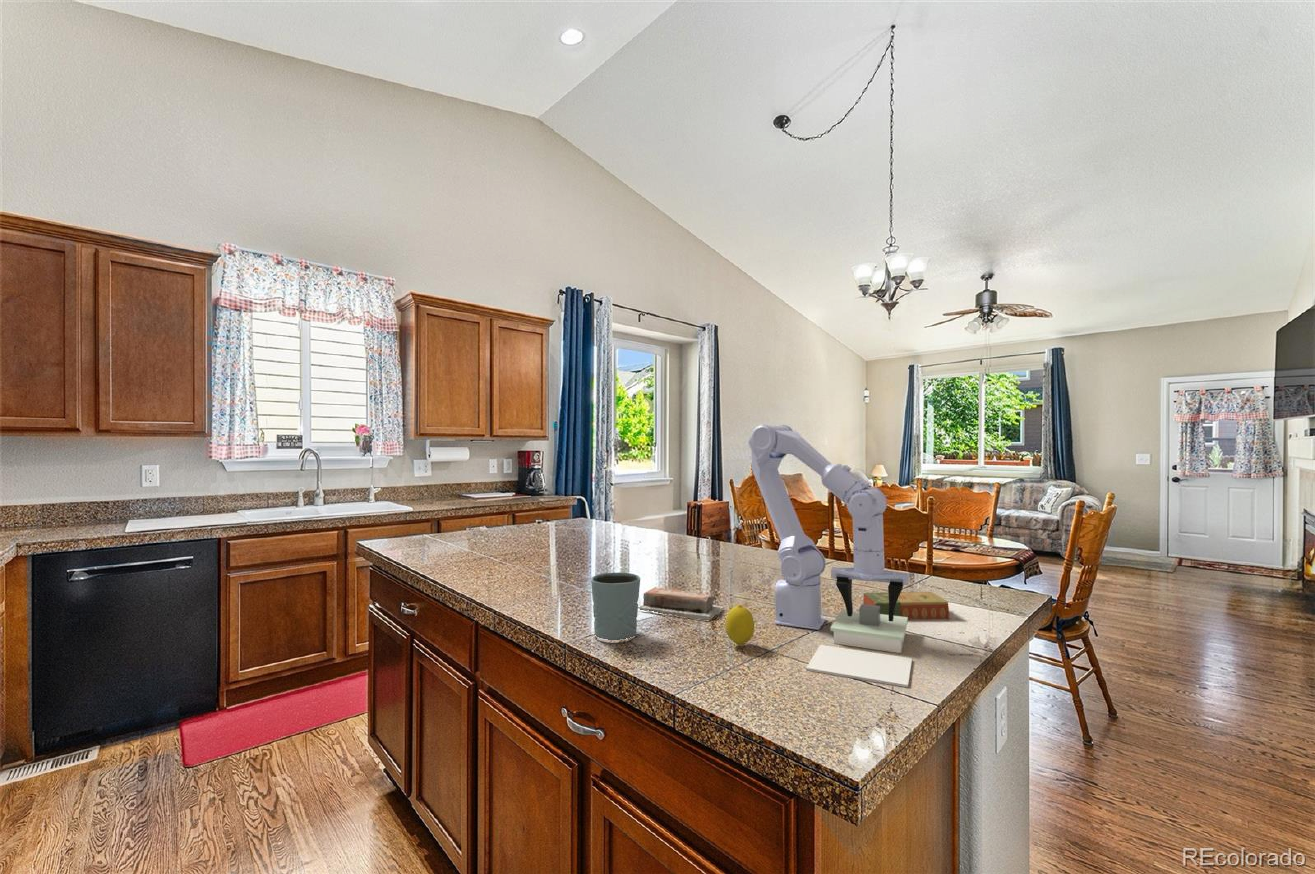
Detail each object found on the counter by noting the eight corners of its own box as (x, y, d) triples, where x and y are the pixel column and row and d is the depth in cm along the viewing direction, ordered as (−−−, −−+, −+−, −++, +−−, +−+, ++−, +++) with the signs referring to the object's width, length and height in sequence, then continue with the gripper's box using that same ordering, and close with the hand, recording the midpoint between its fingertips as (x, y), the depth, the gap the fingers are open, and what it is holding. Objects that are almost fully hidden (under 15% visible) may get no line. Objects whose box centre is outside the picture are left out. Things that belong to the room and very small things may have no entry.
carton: (949, 620, 121) (949, 601, 121) (875, 621, 122) (874, 601, 122) (932, 609, 129) (932, 590, 129) (862, 609, 130) (862, 591, 130)
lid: (830, 634, 107) (830, 612, 107) (841, 615, 119) (841, 595, 119) (903, 644, 101) (903, 621, 101) (907, 623, 113) (907, 602, 113)
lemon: (756, 642, 109) (755, 601, 109) (752, 652, 104) (751, 609, 104) (729, 639, 111) (728, 599, 111) (723, 649, 105) (722, 607, 105)
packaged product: (637, 593, 130) (657, 583, 139) (637, 613, 130) (657, 602, 139) (708, 601, 122) (724, 591, 131) (708, 624, 122) (724, 611, 131)
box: (833, 643, 108) (833, 630, 108) (843, 624, 118) (843, 613, 118) (901, 653, 102) (900, 639, 102) (905, 632, 113) (905, 620, 113)
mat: (806, 669, 95) (806, 667, 95) (820, 646, 106) (820, 644, 106) (907, 687, 88) (907, 684, 88) (912, 660, 98) (912, 658, 98)
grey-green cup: (581, 636, 114) (580, 578, 114) (617, 624, 121) (616, 569, 121) (615, 648, 107) (614, 586, 107) (651, 634, 114) (650, 576, 115)
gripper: (827, 550, 110) (829, 618, 110) (907, 555, 103) (909, 628, 103) (833, 544, 116) (835, 608, 116) (909, 548, 110) (911, 617, 109)
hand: (870, 617), depth 110 cm, fingers open, 7 cm apart
